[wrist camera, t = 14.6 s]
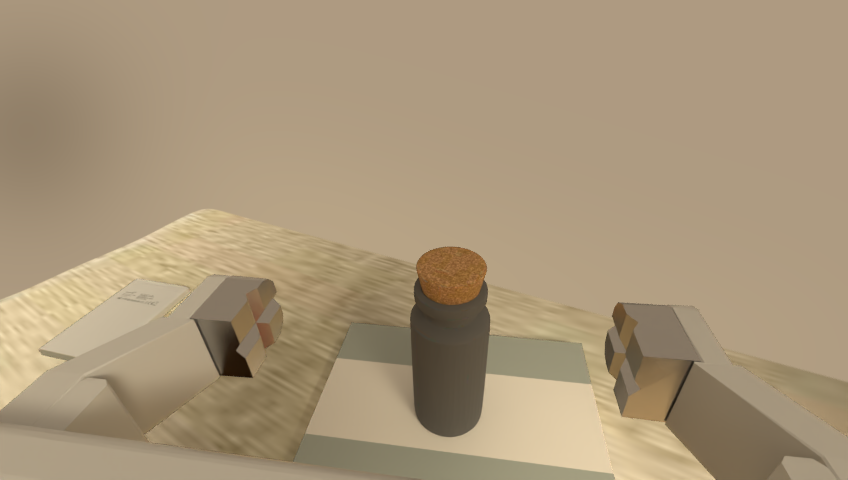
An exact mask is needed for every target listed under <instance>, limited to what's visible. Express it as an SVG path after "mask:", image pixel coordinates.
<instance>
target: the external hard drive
mask: <svg viewBox="0 0 848 480" xmlns="http://www.w3.org/2000/svg"><path fill="white" fill-rule="evenodd" d="M189 294H190V290H189V288H188V287H186V286H181V285H174V284H168V283H162V282H156V281H150V280H144V279H135V280H134V281H133V282H131V283H130V284H128V285H127V286H126V287H124V288H123V289H121V290H120V291H119V292H117V293H116V294H114V295H113V296H112V297H110V298H109V299H107V300H106V301H105V302H103V303H102V304H100V305H99V306H98V307H96V308H95V309H93V310H92V311H91V312H89V313H88V314H86V315H85V316H84V317H82V318H81V319H80V320H78V321H77V322H75V323H74V324H73V325H71V326H70V327H68V328H67V329H66V330H64V331H63V332H61V333H60V334H59V335H57V336H56V337H54V338H53V339H52V340H50V341H49V342H48V343H46V344H45V345H43V346H42V347H41V348H39V351H40V352H41V354H42V355H45V356H49V357H54V358H58V359H63V360H67V361H69V360H71V359H73V358H75V357H77V356H79V355H82V354H84V353H86V352H88V351H90V350H92V349H94V348H96V347H99V346H101V345H103V344H105V343H107V342H109V341H111V340H113V339H116V338H118V337H120V336H122V335H124V334H126V333H128V332H130V331H133V330H135V329H137V328H139V327H141V326H143V325H145V324H148V323H150V322H152V321H154V320H156V319H158V318H160V317H163V316H165V315H166V314H167V313H168V312H169V311H170V310H171V309H173V308H174V307H175V306H176V305H177V304H178V303H179V302H181V301H182V300H183V299H184V298H185V297H186V296H187V295H189Z"/></svg>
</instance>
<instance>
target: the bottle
mask: <svg viewBox="0 0 848 480" xmlns="http://www.w3.org/2000/svg"><path fill="white" fill-rule="evenodd" d="M416 269H417V274H418V277H419V278H418V279H417V281H416V283H415V286H414V297H415V302H416V304H415V305H414V307H413V309H412V312H411V317H410V325H411V350H412V371H413V391H414V406H415V412H416V416H417V418H418V420H419V421H420V423H421V424H422V425H423V426H424V428H426V429H427V430H428V431H430V432H431V433H434V434H436V435H439V436H443V437H456V436H460V435H463V434H465V433H467V432H469V431H470V430H471V429H473V428H474V427H475V426H476V424H477V423H478V421H479V419H480V416H481V412H482V405H483V396H484V387H485V377H486V366H487V355H488V344H489V332H490V315H489V312H488V309H487V308H486V306H485V305H486V302H487V296H488V288H487V284H486V282H485V281H484V278H485V275H486V272H487V266H486V263H485V261H484V260H483V258H482V257H481V256H479V255H478V254H477V253H475V252H473V251H471V250H468V249H465V248H460V247H442V248H436V249H433V250H430V251H428V252H426V253H425V254H423V255H422V256H421V258H420V259H419V260H418V262H417V266H416Z"/></svg>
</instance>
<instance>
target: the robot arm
mask: <svg viewBox="0 0 848 480" xmlns="http://www.w3.org/2000/svg"><path fill="white" fill-rule="evenodd" d="M275 294H276V289H275V286H274V283H273V281H271V280H269V279H263V278H252V277H241V276H226V275H215V274H214V275H211V276H208V277H207V278H206V279H205V280H204V281H203V282H202V283H201V284H200V285H199V286H198V287H197V288H196V289H195V290H194V291H193V292H192V293H191V294H190V295H189V296H188V297H187V298H186V299H185V300H184V301H183V302H182V303H181V304H180V305H179V306H178V307H177V308H176V309H175V310H174V311H173V312H172V313H171V314H170V315H169V316H168V317H160V318H158V319H156V320H154V321H152V322H150V323H148V324H145V325H143V326H141V327H139V328H137V329H135V330H133V331H130V332H128V333H126V334H124V335H122V336H120V337H118V338H116V339H113V340H111V341H109V342H107V343H105V344H103V345H101V346H99V347H96V348H94V349H92V350H90V351H88V352H86V353H84V354H82V355H79V356H77V357H75V358H73V359H71V360H69V361H67V362H64V363H62V364H60V365H58V366H56V367H54V368H52V369H50V370H47V371H46V372H45V373H43V374H42V375H41V376H40V377H39V378H38V379H36V380H35V381H34V382H33V383H32V384H31V385H30V386H28V387H27V388H26V389H25V390H24V391H23V392H21V393H20V394H19V395H18V396H17V397H16V398H14V399H13V400H12V401H11V402H10V403H9V404H8V405H6V406H5V407H4V408H3V409H2V410H1V411H0V480H423V479H416V478H408V477H401V476H393V475H386V474H379V473H371V472H364V471H357V470H349V469H342V468H334V467H327V466H320V465H312V464H305V463H297V462H290V461H283V460H275V459H268V458H261V457H253V456H246V455H238V454H231V453H224V452H216V451H209V450H202V449H194V448H187V447H179V446H172V445H165V444H157V443H150V442H149V441H148V440H147V438H146V437H145V435H144V434H146V433H147V432H148V431H150V430H151V429H152V428H154V427H155V426H156V425H158V424H159V423H160V422H162V421H163V420H164V419H166V418H167V417H168V416H170V415H171V414H172V413H174V412H175V411H176V410H178V409H179V408H180V407H181V406H183V405H184V404H185V403H187V402H188V401H189V400H191V399H192V398H193V397H195V396H196V395H197V394H199V393H200V392H201V391H203V390H204V389H205V388H207V387H208V386H209V385H211V384H212V383H213V382H215V381H216V380H217V379H219V378H220V375H222V376H235V377H248V378H253V377H254V376H255V374H256V372H257V371H258V369H259V368H260V366H261V364H262V363H263V361H264V360H265V358H266V351H265V348H267V347H268V346H270V345H272V344H273V343H275V342H276V340H277V338H278V336H279V335H280V332H281V328H282V324H283V312H282V309H281V306H280V305H279V304H278V303H277V302H276V301H275V300H274V299H273V297H274V296H275ZM612 317H613V320H614V323H615V326H614V327H612V328H611V329H610V330H608V332H607V337H606V341H605V359H606V365H607V368H608V372H609V373H610V374H611V375H612V376H613V377H614V378H615V379H616V383H615V387H614V393H615V396H616V399H617V403H618V406H619V409H620V413H621V416H622V417H628V418H636V419H644V420H651V421H659V422H666V423H665V425H666V426H667V427H668V428H669V429H670V430H671V431H672V432H673V434H674V435H675V436H676V437H677V438H678V439H679V440H680V441H681V442H682V443H683V444H684V445H685V447H686V448H687V449H688V450H689V451H690V452H691V453H692V454H693V455H694V456H695V457H696V459H697V460H698V461H699V462H700V463H701V464H702V465H703V466H704V467H705V468H706V469H707V470H708V472H709V473H710V474H711V475H712V476H713V477H714V478H715V479H716V480H848V437H847V436H845V435H844V434H842V433H841V432H839V431H838V430H836V429H835V428H833V427H832V426H830V425H829V424H827V423H826V422H825V421H823V420H822V419H820V418H819V417H817V416H816V415H814V414H813V413H811V412H810V411H808V410H807V409H805V408H804V407H802V406H801V405H799V404H798V403H796V402H795V401H793V400H792V399H790V398H789V397H787V396H786V395H784V394H783V393H781V392H780V391H778V390H777V389H775V388H774V387H772V386H771V385H769V384H768V383H766V382H765V381H763V380H762V379H760V378H759V377H757V376H756V375H754V374H753V373H751V372H750V371H748V370H747V369H745V368H744V367H742V366H738V365H733V364H732V363H731V361H730V360H729V358H728V356H727V355H726V353H725V352H724V350H723V349H722V347H721V345H720V344H719V342H718V341H717V339H716V337H715V336H714V334H713V333H712V331H711V330H710V328H709V326H708V325H707V323H706V322H705V320H704V318H703V317H702V315H701V314H700V312H699V311H698V309H696V308H695V307H693V306H679V305H667V306H665V305H651V304H650V305H649V304H635V303H619V302H618V303H617V305H616V306H615V308H614V311H613V315H612Z"/></svg>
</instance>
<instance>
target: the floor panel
mask: <svg viewBox="0 0 848 480" xmlns="http://www.w3.org/2000/svg"><path fill="white" fill-rule="evenodd" d="M293 462H297V463H305V464H312V465H320V466H327V467H334V468H342V469H349V470H357V471H364V472H371V473H379V474H386V475H393V476H401V477H408V478H416V479H423V480H615V478H614V474H613V470H612V466H611V462H610V458H609V454H608V450H607V445H606V441H605V437H604V433H603V429H602V425H601V421H600V417H599V413H598V409H597V405H596V401H595V396H594V392H593V388H592V384H591V380H590V376H589V372H588V368H587V364H586V360H585V356H584V352H583V347H582V343H571V342H560V341H549V340H538V339H527V338H516V337H505V336H495V335H489V344H488V355H487V366H486V377H485V387H484V396H483V405H482V412H481V416H480V419H479V421H478V423H477V424H476V426H475V427H474V428H473V429H471V430H470V431H469V432H467V433H465V434H463V435H460V436H456V437H443V436H439V435H436V434H434V433H431V432H430V431H428V430H427V429H426V428H424V426H423V425H422V424H421V423H420V421H419V420H418V418H417V416H416V412H415V406H414V391H413V371H412V350H411V328H407V327H396V326H385V325H374V324H363V323H351V325H350V328H349V330H348V332H347V335H346V337H345V340H344V342H343V344H342V347H341V349H340V351H339V354H338V356H337V358H336V361H335V363H334V366H333V368H332V370H331V373H330V375H329V377H328V380H327V382H326V385H325V387H324V389H323V392H322V394H321V396H320V399H319V401H318V404H317V406H316V408H315V411H314V413H313V415H312V418H311V420H310V423H309V425H308V427H307V430H306V432H305V434H304V437H303V439H302V442H301V444H300V446H299V449H298V451H297V453H296V456H295V458H294V460H293Z"/></svg>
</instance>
